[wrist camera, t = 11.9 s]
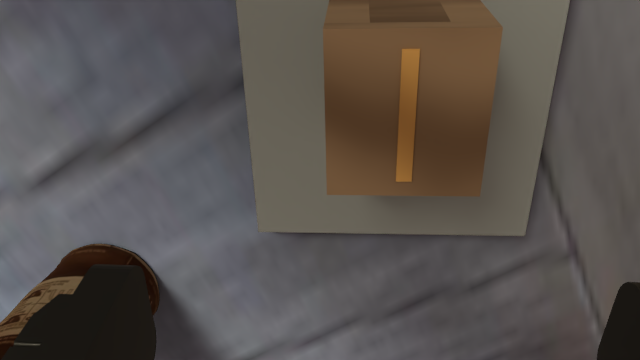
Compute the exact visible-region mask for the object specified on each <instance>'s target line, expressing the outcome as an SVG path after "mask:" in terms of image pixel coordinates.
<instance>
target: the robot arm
mask: <svg viewBox="0 0 640 360" xmlns="http://www.w3.org/2000/svg"><path fill="white" fill-rule="evenodd" d="M155 350H156V330H155V325H154V320H153V315H152V310H151V305H150V300H149V295H148V290H147V285H146V280H145V276H144V272H143V270H142V268H141V267H140V266H137V265H105V264H95V265H93V266H91V267H90V268H89V270H88V271H87V273H86V274H85V276H84V277H83V279H82V280H81V282H80V284H79V285H78V287H77V288H76V290H75V291H74V293H73V294H59V295H57V296H56V297H55V298H53V299H52V300H51V301H50V302H48V303H47V304H46V305H45V306H43V307H42V308H41V309H39V310H38V311H37V312H36V313H34V314H33V315H32V316H31V317H30V319H29V320H28V322H27V323H26V325H25V326H24V328H23V329H22V330H21V332H20V333H19V335H18V336H17V338H16V339H15V340H14V345H13V347H10V348H9V349H8V350H7V352H6V353H5V355H4V356H3V358H2V359H1V360H154V356H155ZM597 360H640V283H638V282H627V283H624V284H623V285H622V286H621V287H620V289H619V291H618V293H617V296H616V299H615V302H614V304H613V307H612V310H611V313H610V316H609V319H608V322H607V325H606V328H605V330H604V333H603V336H602V339H601V342H600V345H599V348H598V354H597Z"/></svg>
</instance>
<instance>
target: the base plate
mask: <svg viewBox="0 0 640 360" xmlns="http://www.w3.org/2000/svg"><path fill="white" fill-rule="evenodd" d="M481 2H482V3H483V4H484V5H485V6H486V8H487V9H488V10H489V11H490V12H491V14H492V15H493V16H494V17H495V18H496V20H497V21H498V22H499V23H500V24H501V26H502V27H503V31H502V39H501V46H500V53H499V61H498V68H497V75H496V83H495V90H494V97H493V105H492V112H491V119H490V127H489V134H488V141H487V149H486V156H485V163H484V171H483V178H482V185H481V193H480V197H476V196H382V195H327V181H326V139H325V97H324V55H323V26H324V22H325V17H326V13H327V8H328V4H329V0H236V8H237V18H238V28H239V39H240V49H241V59H242V69H243V79H244V89H245V100H246V110H247V120H248V130H249V140H250V151H251V161H252V171H253V181H254V191H255V202H256V212H257V222H258V232H299V233H363V234H427V235H491V236H525V233H526V228H527V222H528V217H529V212H530V207H531V201H532V196H533V191H534V186H535V181H536V175H537V170H538V165H539V160H540V155H541V149H542V144H543V139H544V134H545V128H546V123H547V118H548V113H549V108H550V102H551V97H552V92H553V87H554V82H555V76H556V71H557V66H558V61H559V55H560V50H561V45H562V40H563V35H564V29H565V24H566V19H567V14H568V8H569V3H570V0H481Z"/></svg>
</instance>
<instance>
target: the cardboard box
mask: <svg viewBox="0 0 640 360" xmlns="http://www.w3.org/2000/svg"><path fill="white" fill-rule="evenodd" d="M502 31H503V27H502V26H501V24H500V23H499V22H498V21H497V20H496V18H495V17H494V16H493V15H492V14H491V12H490V11H489V10H488V9H487V8H486V6H485V5H484V4H483V3H482V2H481V0H329V4H328V8H327V13H326V17H325V22H324V26H323V55H324V97H325V139H326V181H327V195H382V196H476V197H480V193H481V185H482V178H483V171H484V163H485V156H486V149H487V141H488V134H489V127H490V119H491V112H492V105H493V97H494V90H495V83H496V75H497V68H498V61H499V53H500V46H501V39H502Z"/></svg>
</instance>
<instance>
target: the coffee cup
mask: <svg viewBox="0 0 640 360" xmlns="http://www.w3.org/2000/svg"><path fill="white" fill-rule="evenodd" d="M95 264H105V265H137V266H140V267H141V268H142V270H143V272H144V276H145V280H146V285H147V290H148V295H149V300H150V305H151V310H152V315H154V314H155V312H156V311H157V308H158V305H159V289H158V283H157V280H156V278H155V275H154V274H153V272H152V270H151V269H150V268H149V267H148V266H147V264H146V263H145V262H144V261H143V260H141V259H140V258H139V257H138V256H137V255H136V254H134V253H132V252H130V251H128V250H125V249H122V248H119V247H115V246H112V245H107V244H90V245H86V246H83V247H80V248H77V249H74V250H72V251H71V252H70V253H69V254H67V255H66V256H65V257H64V258H63V259H62V260H61V262H60V264H59V265H58V266H57V268H56V269H55V270H54V271H53V272H52V273H50V274H49V276H48V277H46V278H45V279H44V280H43V281H42V282H41V283H39V284H38V285H37V286H36V287H34V288H33V289H32V290H31V291H30V292H29V293H28V294H27V295H26V296H25V297H24V298H23V299H22V300H21V301H20V303H19V304H18V305H17V306H16V307H15V308H14V309H13V310H12V311H11V312H10V314H9V315H8V316H7V317H6V318H5V319H4V320H3V321H2V322H1V323H0V360H1V359H2V358H3V356H4V355H5V353H6V352H7V350H8V349H9V348H10V347H13V345H14V340H15V339H16V338H17V336H18V335H19V333H20V332H21V330H22V329H23V328H24V326H25V325H26V323H27V322H28V320H29V319H30V317H31V316H32V315H33V314H34V313H36V312H37V311H38V310H39V309H41V308H42V307H43V306H45V305H46V304H47V303H48V302H50V301H51V300H52V299H53V298H55V297H56V296H57V295H59V294H73V293H74V291H75V290H76V288H77V287H78V285H79V284H80V282H81V280H82V279H83V277H84V276H85V274H86V273H87V271H88V270H89V268H90V267H91V266H93V265H95Z"/></svg>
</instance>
